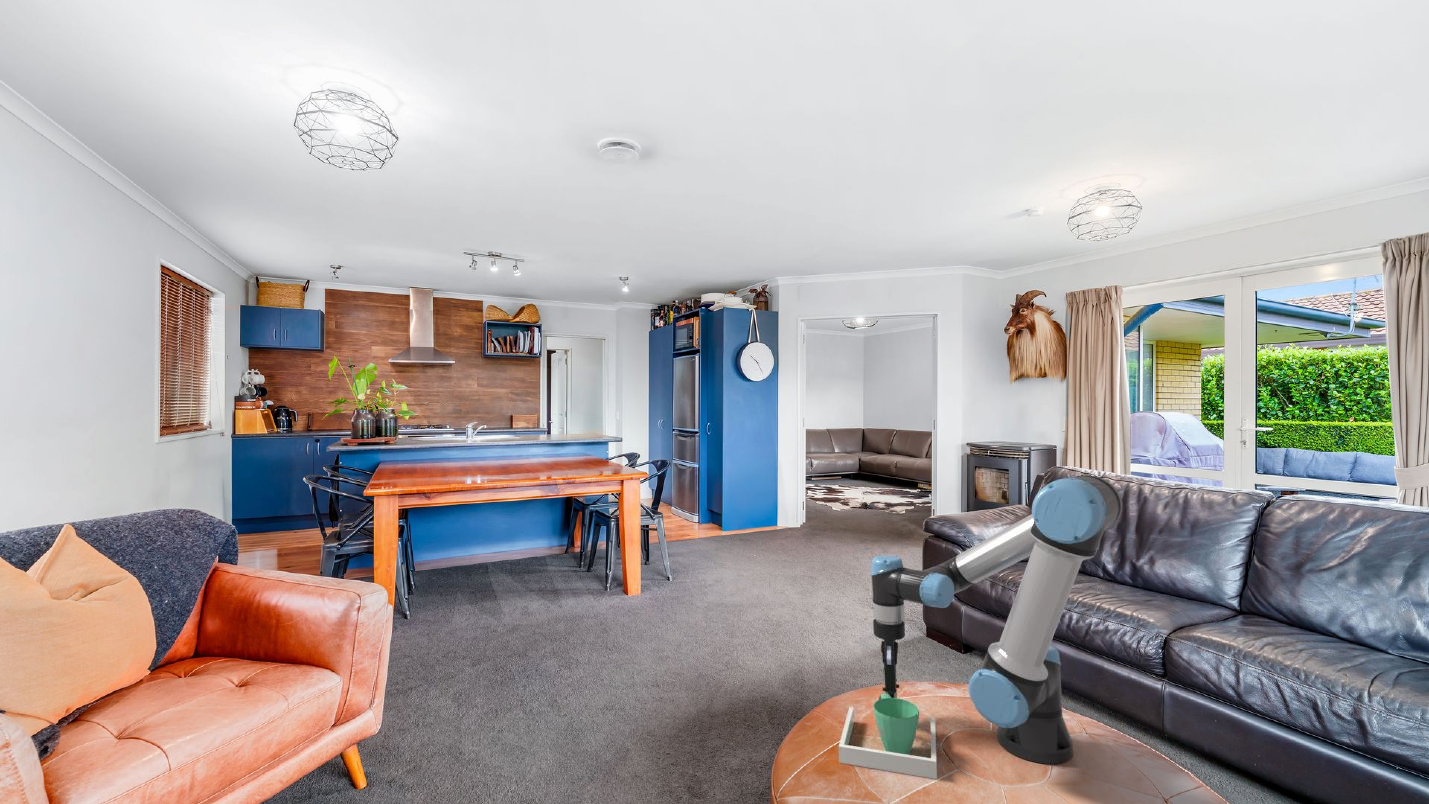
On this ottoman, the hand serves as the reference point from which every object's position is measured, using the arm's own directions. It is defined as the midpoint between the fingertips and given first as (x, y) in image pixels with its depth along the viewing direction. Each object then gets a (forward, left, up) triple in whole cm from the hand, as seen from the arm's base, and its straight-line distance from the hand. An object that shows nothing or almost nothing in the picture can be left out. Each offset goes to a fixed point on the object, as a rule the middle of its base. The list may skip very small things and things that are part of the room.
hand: (891, 716), depth 146 cm
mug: (-1, +12, -2) cm, 12 cm away
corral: (0, +11, -1) cm, 11 cm away
